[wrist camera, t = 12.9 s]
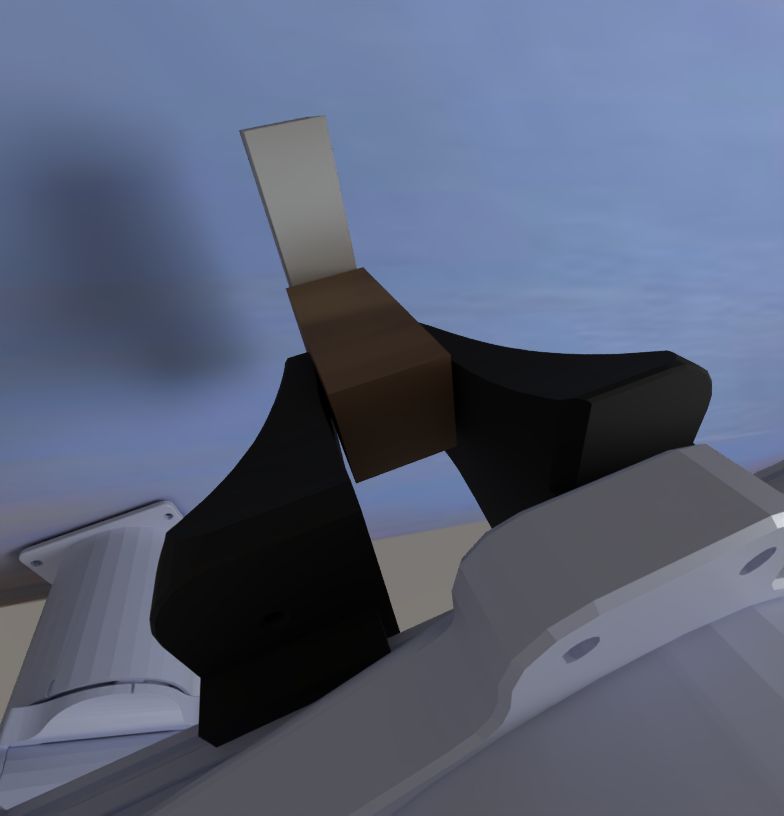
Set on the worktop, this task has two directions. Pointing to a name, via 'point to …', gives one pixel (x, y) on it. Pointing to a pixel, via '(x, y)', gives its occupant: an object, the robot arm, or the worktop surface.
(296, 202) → the scraper
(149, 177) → the worktop surface
